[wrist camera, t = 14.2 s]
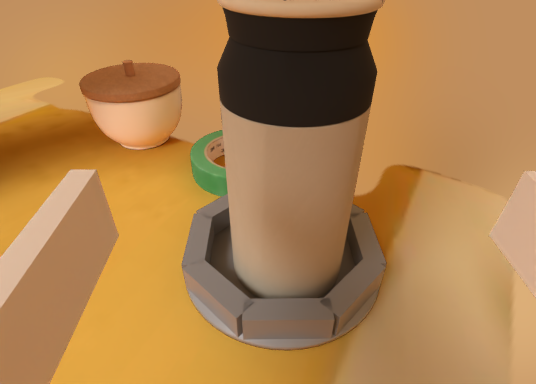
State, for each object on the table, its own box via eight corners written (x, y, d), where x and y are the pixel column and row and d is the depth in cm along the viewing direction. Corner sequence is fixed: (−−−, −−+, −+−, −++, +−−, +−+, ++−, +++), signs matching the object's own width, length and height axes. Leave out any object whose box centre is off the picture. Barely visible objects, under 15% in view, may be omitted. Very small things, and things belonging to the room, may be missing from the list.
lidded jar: (163, 113, 50) (150, 44, 44) (204, 140, 43) (195, 63, 38) (86, 136, 44) (60, 59, 38) (120, 170, 37) (94, 84, 32)
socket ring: (146, 259, 27) (139, 237, 26) (276, 181, 36) (277, 162, 34) (290, 405, 19) (292, 384, 17) (415, 257, 27) (423, 235, 26)
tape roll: (259, 138, 44) (258, 118, 43) (314, 178, 37) (317, 156, 35) (177, 162, 39) (173, 142, 38) (222, 215, 32) (220, 192, 30)
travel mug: (243, 318, 22) (221, 7, 12) (227, 235, 29) (204, -18, 18) (357, 296, 24) (430, 0, 13) (318, 221, 30) (347, -21, 19)
